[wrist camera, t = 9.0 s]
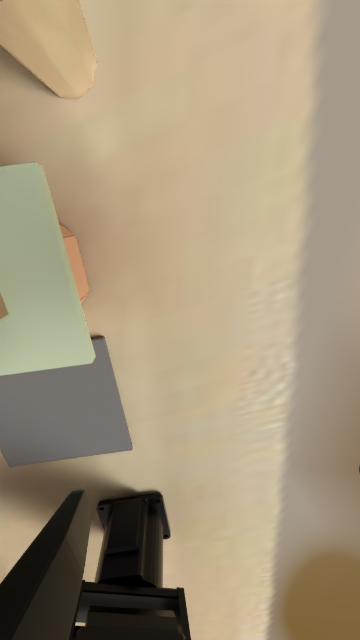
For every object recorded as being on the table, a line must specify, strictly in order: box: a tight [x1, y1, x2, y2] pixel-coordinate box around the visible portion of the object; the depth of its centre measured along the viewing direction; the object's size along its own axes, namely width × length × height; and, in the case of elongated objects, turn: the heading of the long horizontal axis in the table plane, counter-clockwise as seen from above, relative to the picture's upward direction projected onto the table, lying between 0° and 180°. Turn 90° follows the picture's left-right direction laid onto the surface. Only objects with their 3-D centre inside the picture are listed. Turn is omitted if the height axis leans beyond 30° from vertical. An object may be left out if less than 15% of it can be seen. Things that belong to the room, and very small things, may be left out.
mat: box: [0, 337, 132, 467], centre depth 21 cm, size 11×11×1 cm
